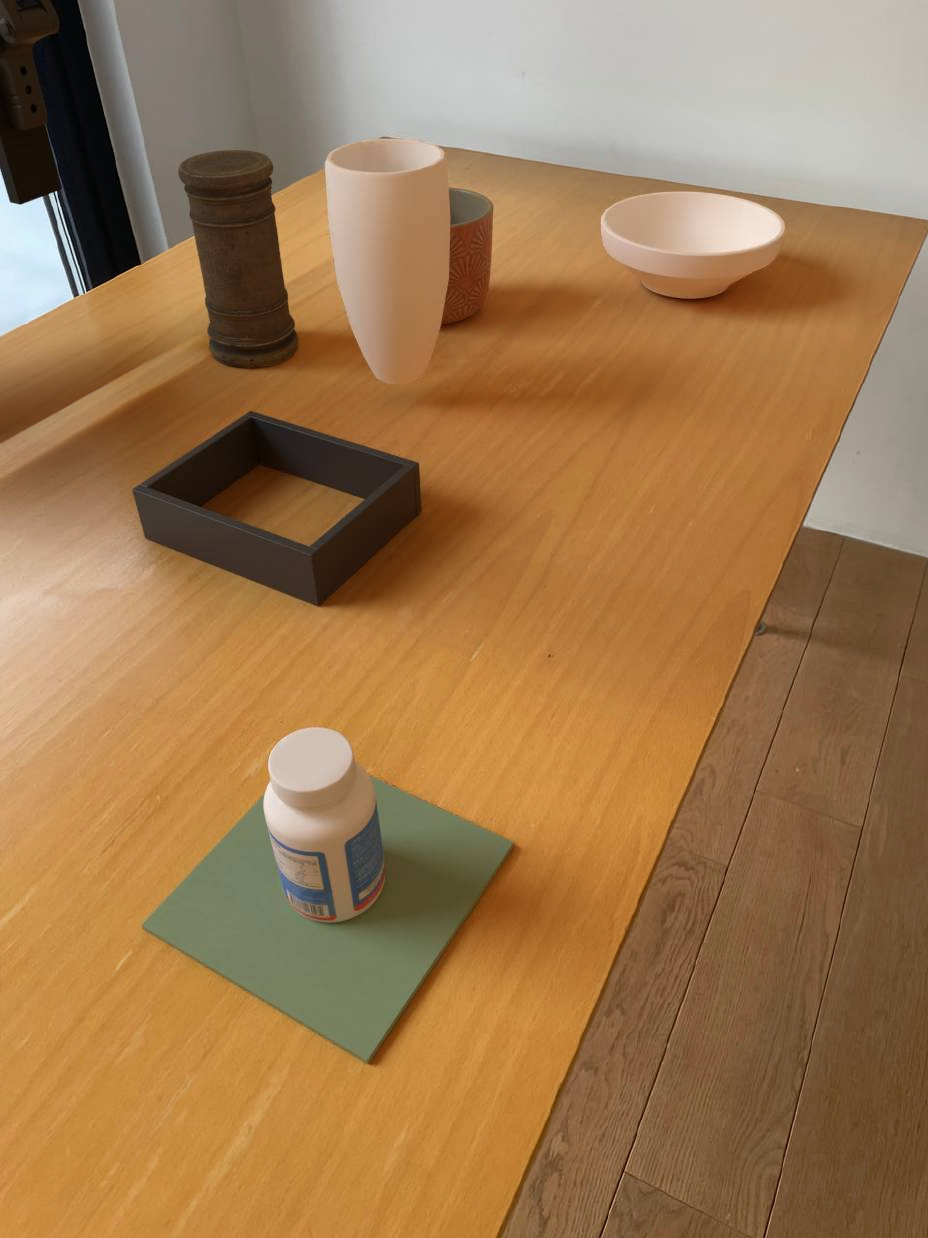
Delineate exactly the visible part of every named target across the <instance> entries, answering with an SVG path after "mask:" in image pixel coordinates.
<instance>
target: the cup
mask: <svg viewBox="0 0 928 1238" xmlns="http://www.w3.org/2000/svg"><path fill="white" fill-rule="evenodd" d="M448 170H449V169H448V154H447V153H446V151H445V150H444V149H442V148H441V147H439V146H438V145H437V144H434V143H430V142H427V141H423V140H417V139H409V138H408V139H407V138H374V139H367V140H360V141H355V142H351V143H348V144H344V145H340V146H338V147H336V148H335V149H334V150H331V151H330V152H329V153H328V154H327V156H326V159H325V162H324V173H325V189H326V190H325V191H326V205H327V220H328V221H327V223H328V232H329V238H330V245H331V252H332V259H333V267H334V270H335V271H334V273H335V279H336V283H337V286H338V289H339V293H340V296H341V299H342V302H343V306H344V309H345V313H346V315H347V319H348V322H349V326H350V328H351V331H352V333H353V335H354V337H355V340H356V342H357V344H358V347H359V349H360V351H361V354H362V357H363V358H364V360H365V361H366V363H367V365H368V367H369V368H370V370H371V372H372V374H373V375H374V377H375V378H376V379H377V380H378V381H379V382H382V383H384V384H389V385H390V384H391V385H404V384H409V383H414V382H416V381H418V380H420V379H421V378H422V377H423V376H424V375H425V373H426V370H427V368H428V366H429V363H430V361H431V360H432V359H431V358H432V356H433V353H434V350H435V346H436V343H437V340H438V337H439V333H440V330H441V326H442V324H441V321H442V315H443V309H444V304H445V298H446V292H447V286H448V281H449V255H450V203H449V187H450V186H449V171H448Z"/></svg>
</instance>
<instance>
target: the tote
mask: <svg viewBox="0 0 928 1238" xmlns="http://www.w3.org/2000/svg"><path fill="white" fill-rule="evenodd" d="M259 465H263V466H266V467H268V468H271V469H275V470H277V471H281V472H283V473H287V474H289V475H293V476H295V477H299V478H301V479H305V480H308V481H311V482H314V483H316V484H319V485H322V486H325V487H328V488H332V489H334V490H338V491H341V492H344V493H347V494H350V495H353V496H356V497H359V498H362V499H363V500H362V501H360V503H359V504H357V506H355V507H354V508H353V509H352V510H351V511H349V512H347V514H346V515H345V516H344V517H342V518H341V519H340V520H339V521H337V522H336V523H335V524H334V525H333V526H332V527H330V528H329V529H328V530H327V531H326V532H324V533H323V534H322V535H321V536H320V537H319V538H317V539H315V541H314V542H313V543H312V544H311V545H306V544H303V543H300V542H298V541H295V540H293V539H290V538H287V537H285V536H282V535H279V534H276V533H273V532H270V531H268V530H265V529H263V528H259V527H257V526H254V525H251V524H249V523H246V522H243V521H241V520H237V519H235V518H232V517H230V516H227V515H223V514H222V513H218V512H216V511H213V510H210V509H207V508H205V507H202V506H203V505H204V504H206V503H207V502H209V501H211V500H212V499H213V498H214V497H216V496H217V495H218V494H220V493H221V492H222V491H224V490H225V489H226V488H228V487H229V486H231V485H232V484H234V483H235V482H237V480H239V479H240V478H242V477H243V476H244V475H246V474H247V473H249V472H250V471H252V470H253V469H254V468H256V467H257V466H259ZM420 472H421V471H420V462H418V461H415V460H411V459H408V458H405V457H401V456H399V455H395V454H392V453H390V452H387V451H386V452H385V451H383V450H379V449H376V448H372V447H369V446H366V445H362V444H360V443H357V442H354V441H349V440H347V439H343V438H339V437H337V436H334V435H331V434H327V433H324V432H321V431H318V430H314V429H311V428H307V427H304V426H303V425H302V426H301V425H298V424H295V423H293V422H288V421H285V420H282V419H279V418H275V417H273V416H269V415H265V414H262V413H259V412H256V411H252V410H249V411H248V412H246V413H245V414H244V415H242V416H240V417H239V418H237V419H236V420H235V421H233V422H231V423H230V424H228V425H227V426H225V427H224V428H222V429H221V430H219V431H218V432H216V433H214V435H212V436H210V437H209V438H207V439H206V440H204V441H203V442H201V443H200V444H197V446H195V447H194V448H192V449H190V450H189V451H188V452H186V453H185V454H183V455H182V456H180V457H179V458H177V459H176V460H174V461H172V462H171V463H169V464H168V465H167V466H165V467H164V468H162V469H161V470H159V471H158V472H156V473H154V474H153V475H152V476H150V477H148V478H147V479H146V480H144V481H143V482H141V483H140V484H137V485H136V486H134V487H133V488H132V490H131V491H132V494H133V499H134V502H135V505H136V509H137V513H138V517H139V520H140V525H141V528H142V533H143V536H144V538H145V539H146V540H148V541H151V542H153V543H155V544H158V545H160V546H163V547H167V548H169V549H171V550H174V551H176V552H178V553H182V554H184V555H186V556H188V557H189V556H190V557H191V558H194V559H197V560H199V561H202V562H204V563H207V564H209V565H212V566H214V567H217V568H220V569H222V570H225V571H227V572H229V573H232V574H235V575H237V576H240V577H242V578H245V579H247V580H250V581H253V582H255V583H258V584H260V585H263V586H266V587H268V588H271V589H273V590H275V591H279V592H281V593H283V594H286V595H289V596H290V597H293V598H296V599H298V600H300V601H304V602H306V603H309V604H311V605H313V606H316V607H320V606H321V605H322V604H323V603H324V602H325V600H327V599H328V598H329V597H330V596H331V595H332V594H334V593H335V592H336V591H337V590H338V589H339V588H341V586H342V585H343V584H345V583H346V581H348V580H349V579H350V578H351V577H353V575H354V574H355V573H357V571H358V570H360V569H361V568H362V567H363V566H364V565H365V564H366V563H368V561H369V560H370V559H371V558H373V557H374V556H375V555H376V554H377V553H378V552H379V551H380V550H382V548H383V547H385V546H386V545H387V544H388V543H389V542H390V541H391V540H392V539H393V538H394V537H396V536H397V535H398V534H399V533H400V532H401V531H403V529H404V528H405V527H406V526H407V525H409V523H410V522H411V521H412V520H414V519H415V518H416V516H418V515H419V514H420V513H421V512H422V493H421V477H420V476H421V473H420Z"/></svg>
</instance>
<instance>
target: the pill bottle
mask: <svg viewBox="0 0 928 1238" xmlns="http://www.w3.org/2000/svg"><path fill="white" fill-rule="evenodd" d="M267 769H268V773H269V774H268V775H269V782H268V784H267V786H266V789H265V792H264V794H265V795H264V794H263V795H264V802H263V807H264V814H265V819H266V824H267V828H268V832H269V835H270V839H271V843H272V847H273V851H274V855H275V858H276V862H277V866H278V870H279V874H280V878H281V882H282V886H283V890H284V893H285V895H286V898H287V900H288V902H289V903H290V905H291V906H292V907H293V908H294V909H295V910H296V911H297V912H298V913H300V914H301V915H303V916H304V917H306V918H309V919H311V920H315V921H319V922H328V923H332V922H340V921H345V920H348V919H351V918H354V917H356V916H358V915H360V914H361V913H363V912H364V911H366V910H367V909H368V908H369V907H370V906H371V905H372V904H373V903H374V902H375V901H376V899H377V898H378V896H379V895H380V893H381V891H382V888H383V885H384V881H385V861H384V853H383V846H382V839H381V831H380V823H379V817H378V810H377V802H376V795H375V790H374V786H373V782H372V780H371V778H370V776H371V775H370V774H369V773H368V771H367V770H366V769H365V767H363V766H362V765H361V764H360V763H359V762H358V761H356V758H355V752H354V749H353V746H352V744H351V742H350V741H349V740H348V739H347V737H345V736H344V735H343V734H342V733H340V732H339V731H336V730H333V729H331V728H327V727H320V726H319V727H318V726H313V727H306V728H301V729H298V730H295V731H292V732H290V733H289V734H287V735H285V736H284V737H282V738H281V739H280V740H279V741H278V742H277V743H276V744H275V745H274V746H273V748H272V750H271V752H270V754H269V757H268V761H267ZM369 775H370V776H369Z"/></svg>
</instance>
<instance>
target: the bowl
mask: <svg viewBox="0 0 928 1238" xmlns="http://www.w3.org/2000/svg"><path fill="white" fill-rule="evenodd" d="M786 230H787V227H786V223H785V221H784V220H783V218H782V217H781V216H780V215H779V214H778V213H777V212H776V211H773V210H772V209H771V208H768V207H767V206H764V205H763V204H761V203H757V202H755V201H752V200H748V199H745V198H741V197H736V196H734V195H727V194H720V193H716V192H715V193H714V192H703V191H683V190H682V191H662V192H651V193H646V194H639V195H635V196H631V197H628V198H624V199H622V200H620V201H617V202H615V203H613V204H612V205H610V206H609V207H608V208H606V210H605V211H604V212H603V214H602V215H601V219H600V236H601V241H602V245H603V248H604V250H605V252H606V253H607V254H608V255H609V256H610V257H611V258H612V259H614V260H615V261H617V262H618V263H620V264H621V265H622V266H623V267H624V268H626V269H627V270H628V271H629V272H631V273H632V274H633V275H635V276H636V277H637V278H638V279H639V280H640V282H641V284H642V285H643V287H645V288H646V289H648V290H649V291H651V292H653V293H655V294H658V295H662V296H664V297H670V298H678V299H703V298H710V297H714V296H717V295H719V294H722V293H724V292H725V291H726V290H727V289H728V288H729V287H730V286H731V285H732V284H734V283H735V282H738V281H740V280H742V279H744V278H746V277H747V276H749V275H750V274H752V273H754V272H756V271H759V270H762V269H764V268H765V267H767V266H768V265H770V264H771V263H773V261H774V260H775V259H776V258H777V256H778V254H779V251H780V249H781V248H782V244H783V242H784V239H785V234H786V232H787V231H786Z"/></svg>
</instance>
